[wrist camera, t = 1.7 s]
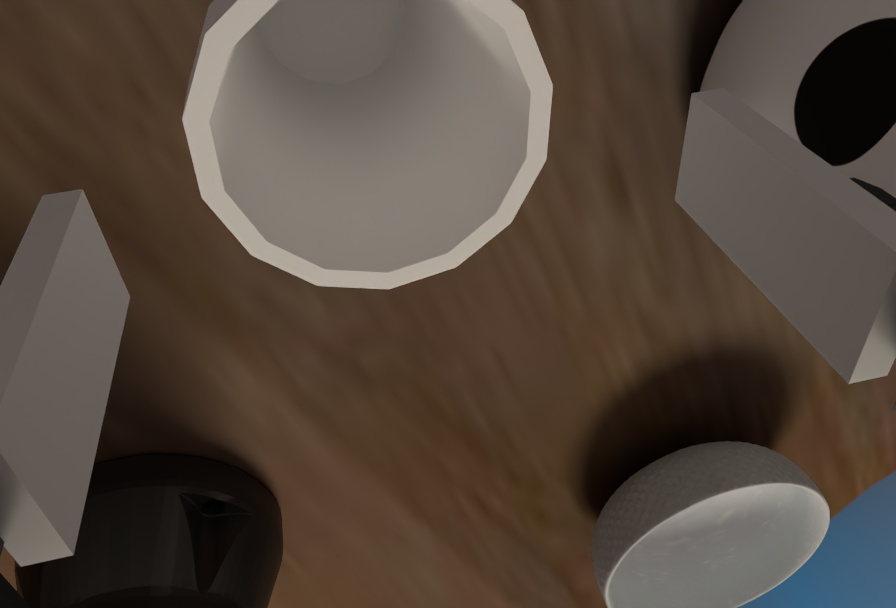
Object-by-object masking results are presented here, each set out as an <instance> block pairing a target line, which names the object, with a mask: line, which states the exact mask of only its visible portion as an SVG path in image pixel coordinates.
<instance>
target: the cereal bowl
mask: <svg viewBox="0 0 896 608" xmlns="http://www.w3.org/2000/svg"><path fill="white" fill-rule="evenodd" d="M829 521H830V512H829V507H828V504H827V502H826V500H825V498H824V496H823V495H822V493H821V492H820V491H819V490H818V488H817V486H816V485H815V484H814V483H813V482H812V481H811V480H810V478H809V477H808V476H807V475H806V474H805V473H804V472H803V471H802V470H801V469H800V468H799V467H798V466H796V465H795V464H794V463H793V462H792V461H791V460H789V459H787V458H786V457H784V456H783V455H782V454H779V453H777V452H776V451H773V450H770V449H768V448H766V447H762V446H759V445H757V444H750V443H747V442H746V443H742V442H739V441H736V442H730V441H724V442H711V443H705V444H699V445H695V446H689V447H687V448H684V449H680V450H678V451H675V452H673V453H671V454H668V455H667V456H664V457H662V458H660V459H657V460H656V461H655V462H652V463H651V464H649V465H647V466H646V467H644V468H642V469H641V470H639V471H638V472H637V473H635V474H634V475H632V476H631V477H629V479H628V480H627V481H625V482H624V483H623V484H622V485H621V486H620V487H619V488H618V489H617V490H616V491H615V493H614V494H613V495H612V496H611V497H610V498H609V500H608V502H607V503H606V504H605V506H604V508H603V509H602V511H601V513H600V516H599V518H598V519H597V521H596V525H595V527H594V533H593V536H592V544H591V547H592V549H591V553H592V562H593V569H594V573H595V576H596V579H597V582H598V586H599V589H600V591H601V593H602V596H603V598H604V601H605V603H606V605H607V607H608V608H736V607H739V606H741V605H743V604H745V603H747V602H749V601H751V600H753V599H755V598H757V597H759V596H761V595H763V594H764V593H766V592H768V591H770V590H771V589H773V588H774V587H776V586H777V585H779V584H780V583H782V582H783V581H784V580H786V579H787V578H788V577H790V576H791V575H792V574H793V573H794V572H796V571H797V570H798V569H799V568H800V567H801V566H802V565H803V564H804V563H805V562H806V561H807V560H808V559H809V558H810V557H811V556H812V554H813V553H814V552H815V551H816V549H817V548H818V547H819V545H820V543H821V542H822V540H823V538H824V536H825V534H826V532H827V529H828V526H829Z"/></svg>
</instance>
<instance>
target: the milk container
mask: <svg viewBox="0 0 896 608" xmlns="http://www.w3.org/2000/svg"><path fill="white" fill-rule="evenodd" d="M721 88H724V89H725V90H726V91H728V92H729V93H731V94H732V95H733V96H735V97H736V98H738V99H739V100H740V101H742V102H743V103H745V104H746V105H747V106H749V107H750V108H752V109H753V110H754V111H756V112H757V113H759V114H760V115H761V116H763V117H764V118H766V119H767V120H768V121H770V122H771V123H773V124H774V125H775V126H777V127H778V128H780V129H781V130H782V131H784V132H785V133H787V134H788V135H789V136H791V137H792V138H794V139H795V140H796V141H798V142H799V143H801V144H802V145H803V146H805V147H806V148H808V149H809V150H810V151H812V152H813V153H815V154H816V155H817V156H819V157H820V158H822V159H823V160H824V161H826V162H827V163H828V164H830V165H831V166H833V167H834V168H835V169H837V170H838V171H840V172H841V173H842V174H844V175H845V176H847V177H848V178H857V179H859V180H862V181H864V182H867V183H869V184H872V185H874V186H877V187H879V188H882V189H883V190H885V191H886V192H887V193H889V194H890V195H892V196H893V197H895V198H896V0H741V1H740V3H739V4H738V5H737V7H736V8H735V10H734V11H733V13H732V14H731V16H730V17H729V19H728V20H727V22H726V24H725V25H724V27H723V30H722V32H721V34H720V36H719V38H718V40H717V42H716V45H715V47H714V50H713V52H712V54H711V57H710V59H709V62H708V64H707V67H706V69H705V72H704V75H703V78H702V81H701V84H700V89H699V92H702V91H708V90H715V89H721Z"/></svg>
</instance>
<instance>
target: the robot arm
mask: <svg viewBox="0 0 896 608" xmlns="http://www.w3.org/2000/svg"><path fill="white" fill-rule="evenodd" d="M675 201H676V202H677V203H678V204H679V205H680V206H681V207H682V208H683V209H684V210H685V211H686V212H687V213H688V214H689V216H690V217H691V218H692V219H693V220H694V221H695V222H696V223H697V224H698V225H699V226H700V227H701V228H702V229H703V230H704V231H705V232H706V234H707V235H708V236H709V237H710V238H711V239H712V240H713V241H714V242H715V243H716V244H717V245H718V246H719V247H720V248H721V249H722V250H723V252H724V253H725V254H726V255H727V256H728V257H729V258H730V259H731V260H732V261H733V262H734V263H735V264H736V265H737V266H738V267H739V269H740V270H741V271H742V272H743V273H744V274H745V275H746V276H747V277H748V278H749V279H750V280H751V281H752V282H753V283H754V284H755V285H756V287H757V288H758V289H759V290H760V291H761V292H762V293H763V294H764V295H765V296H766V297H767V298H768V299H769V300H770V301H771V302H772V303H773V305H774V306H775V307H776V308H777V309H778V310H779V311H780V312H781V313H782V314H783V315H784V316H785V317H786V318H787V319H788V320H789V321H790V323H791V324H792V325H793V326H794V327H795V328H796V329H797V330H798V331H799V332H800V333H801V334H802V335H803V336H804V337H805V338H806V340H807V341H808V342H809V343H810V344H811V345H812V346H813V347H814V348H815V349H816V350H817V351H818V352H819V353H820V354H821V355H822V356H823V358H824V359H825V360H826V361H827V362H828V363H829V364H830V365H831V366H832V367H833V368H834V369H835V370H836V371H837V372H838V373H839V374H840V376H841V377H842V378H843V379H844V380H845V381H846V382H847V383H848V384H851V383H855V382H860V381H864V380H869V379H873V378H878V377H882V376H887V375H888V373H889V370H890V368H891V366H892V364H893V362H894V360H895V357H896V198H895V197H893V196H892V195H890V194H889V193H887V192H886V191H885V190H883V189H882V188H879V187H877V186H874V185H872V184H869V183H867V182H864V181H862V180H859V179H857V178H848V177H847V176H845V175H844V174H842V173H841V172H840V171H838V170H837V169H835V168H834V167H833V166H831V165H830V164H828V163H827V162H826V161H824V160H823V159H822V158H820V157H819V156H817V155H816V154H815V153H813V152H812V151H810V150H809V149H808V148H806V147H805V146H803V145H802V144H801V143H799V142H798V141H796V140H795V139H794V138H792V137H791V136H789V135H788V134H787V133H785V132H784V131H782V130H781V129H780V128H778V127H777V126H775V125H774V124H773V123H771V122H770V121H768V120H767V119H766V118H764V117H763V116H761V115H760V114H759V113H757V112H756V111H754V110H753V109H752V108H750V107H749V106H747V105H746V104H745V103H743V102H742V101H740V100H739V99H738V98H736V97H735V96H733V95H732V94H731V93H729V92H728V91H726V90H725V89H724V88H721V89H715V90H708V91H702V92H696V93H692V94H691V100H690V106H689V113H688V119H687V125H686V132H685V138H684V144H683V151H682V157H681V164H680V170H679V176H678V183H677V189H676V195H675ZM129 300H130V295H129V293H128V290H127V288H126V286H125V284H124V281H123V279H122V277H121V275H120V272H119V270H118V268H117V266H116V263H115V261H114V259H113V257H112V254H111V252H110V250H109V248H108V245H107V243H106V241H105V239H104V236H103V234H102V232H101V230H100V227H99V225H98V223H97V220H96V218H95V216H94V214H93V211H92V209H91V207H90V205H89V202H88V200H87V198H86V196H85V193H84V191H83V189H79V190H73V191H67V192H60V193H54V194H48V195H42V197H41V200H40V202H39V204H38V206H37V208H36V210H35V213H34V215H33V217H32V219H31V221H30V223H29V225H28V228H27V230H26V232H25V234H24V236H23V238H22V240H21V243H20V245H19V247H18V249H17V251H16V253H15V255H14V258H13V260H12V262H11V264H10V266H9V268H8V270H7V273H6V275H5V277H4V279H3V281H2V283H1V286H0V555H1V552H2V548H3V546H4V547H5V548H6V549H7V550H8V552H9V553H10V554H11V555H12V557H13V558H14V559H15V577H16V585H17V591H16V590H15V589H14V588H13V587H12V586H11V585H10V583H9V582H8V581H7V580H6V579H5V578H4V577H3V576H2V574H1V573H0V608H267V607H268V604H269V601H270V598H271V594H272V591H273V588H274V585H275V582H276V579H277V575H278V572H279V569H280V566H281V562H282V555H283V531H282V517H281V512H280V509H279V506H278V504H277V502H276V500H275V499H274V497H273V496H272V495H271V493H270V492H269V491H268V490H267V489H266V488H265V487H264V486H263V485H262V484H261V483H259V482H258V481H257V480H256V479H254V478H253V477H251V476H250V475H248V474H246V473H244V472H242V471H240V470H238V469H236V468H234V467H231V466H229V465H226V464H223V463H220V462H216V461H212V460H208V459H204V458H198V457H192V456H183V455H161V454H158V455H142V456H133V457H126V458H120V459H115V460H111V461H107V462H103V463H100V464H97V465H94V466H93V464H94V460H95V455H96V451H97V446H98V442H99V437H100V432H101V428H102V423H103V419H104V414H105V410H106V405H107V401H108V396H109V391H110V387H111V382H112V378H113V373H114V369H115V364H116V359H117V355H118V350H119V346H120V341H121V337H122V332H123V327H124V323H125V318H126V314H127V309H128V305H129ZM893 410H896V403H895V405H894V407H893Z"/></svg>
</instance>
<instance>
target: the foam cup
mask: <svg viewBox="0 0 896 608" xmlns="http://www.w3.org/2000/svg"><path fill="white" fill-rule="evenodd" d="M552 90H553V84H552V82H551V79H550V77H549V74H548V72H547V69H546V67H545V64H544V62H543V59H542V57H541V54H540V52H539V49H538V46H537V44H536V41H535V39H534V36H533V34H532V31H531V29H530V26H529V24H528V21H527V19H526V16H525V13H524V11H523V10H522V9H520V8H519V7H518V6H517V5H516V4H515V3H514V2H513V1H512V0H214V1H213V2H212V3H211V4H210V5H209V7H208V11H207V15H206V19H205V23H204V26H203V30H202V34H201V38H200V41H199V45H198V49H197V53H196V56H195V60H194V64H193V68H192V72H191V75H190V79H189V83H188V88H187V94H186V100H185V106H184V112H183V118H182V120H183V124H184V128H185V132H186V136H187V140H188V144H189V149H190V153H191V157H192V161H193V165H194V169H195V173H196V177H197V181H198V185H199V189H200V193H201V197H202V199H203V200H204V201H205V202H206V203H207V205H208V206H209V207H210V208H211V209H212V210H213V212H214V213H215V214H216V215H217V216H218V217H219V218H220V220H221V221H222V222H223V223H224V224H225V225H226V227H227V228H228V229H229V230H230V231H231V232H232V233H233V235H234V236H235V237H236V238H237V239H238V240H239V242H240V243H241V244H242V245H243V246H244V247H245V249H246V250H247V251H248V252H249V253H250V254H251V255H252V256H254V257H256V258H258V259H260V260H263V261H265V262H267V263H269V264H271V265H273V266H276V267H278V268H280V269H282V270H284V271H286V272H289V273H291V274H293V275H295V276H297V277H299V278H302V279H304V280H306V281H308V282H310V283H312V284H315V285H317V286H329V287H351V288H372V289H391V288H395V287H398V286H401V285H404V284H407V283H410V282H413V281H416V280H419V279H422V278H425V277H428V276H431V275H434V274H437V273H440V272H443V271H446V270H450V269H453V268H456V267H457V266H458V265H460V264H461V263H462V262H463V261H465V260H466V259H467V258H468V257H470V256H471V255H472V254H473V253H475V252H476V251H477V250H478V249H479V248H481V247H482V246H483V245H484V244H486V243H487V242H488V241H489V240H491V239H492V238H493V237H494V236H496V235H497V234H498V233H499V232H501V231H502V230H503V229H504V228H505V227H507V226H508V225H509V224H510V223H511V222H512V221H513V219H514V217H515V215H516V213H517V212H518V210H519V208H520V206H521V204H522V203H523V201H524V199H525V197H526V195H527V194H528V192H529V190H530V188H531V187H532V185H533V183H534V181H535V179H536V178H537V176H538V174H539V172H540V170H541V169H542V167H543V165H544V163H545V161H546V158H547V147H548V135H549V124H550V113H551V101H552Z"/></svg>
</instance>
